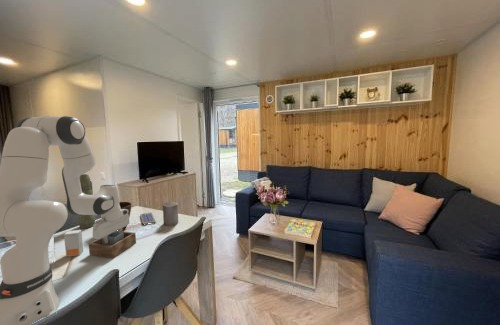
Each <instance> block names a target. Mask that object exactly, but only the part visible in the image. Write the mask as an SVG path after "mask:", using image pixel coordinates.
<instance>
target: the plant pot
mask: <svg viewBox="0 0 500 325" xmlns="http://www.w3.org/2000/svg"><path fill="white" fill-rule="evenodd" d="M119 205H120V208H121V209H127V210H128V213H127V214H128V215H129V218H130V217H131V212H132V202H130V201H120V202H119ZM127 227H128V225H127V226H125V227H123V228H122V229H124V228H126V229H127ZM124 230H125V229H124Z"/></svg>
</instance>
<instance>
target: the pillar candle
mask: <svg viewBox="0 0 500 325" xmlns="http://www.w3.org/2000/svg"><path fill="white" fill-rule="evenodd" d="M178 206H179V204H178V202H176V201H170V202H169V201H168V202H164V203H163V204H162V213H163V225H164V226H167V227H168V226H169V227H170V226H175V225H177V224H178V223H179V210H178V209H179V208H178Z"/></svg>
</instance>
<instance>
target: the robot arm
mask: <svg viewBox="0 0 500 325" xmlns="http://www.w3.org/2000/svg"><path fill="white" fill-rule="evenodd" d="M50 146H58V148H59V152H60V153H59V154H60V156H61V158H62V162H63V167H62V170H61V178H62V183H63V185H64V186H63V187H64V190H65V195H66V205H65V204H64V203H63V202H60V201H54V200H46V199H44V200H28V199H29V197H30V195H31V194H32V193H33V192H34V190H36V189H38V188H41V187H42V186H44V184H45V183H46V182H47V179H48V167H49V156H50V155H49V147H50ZM2 149H3V150H2V153H1V159H0V160H1V162H0V237H15V239H16V240H15V245H14V246H12V247H11V248H9V249H7V250H6V251H5V252H4V254H3V255H1V257H0V271H1V277H2V280H1V282H0V325H30V324H32V323H34V322H36V321H38V320H40V319H42V318H45V317H47V316H49V315H50V314H52V313H54V312H56V313H57V310H58V307H59V306H60V303H61V299H60V297H59V296H58V295H57V294H58V293H57V292H56V290H55V287H54V283H53V269H52V265H50V257H49V245H50V241H51V240H52V237H53V236H54V235H55V234H56V233H57V231H59V230H60V229H61V228H63V226H64V225H65V224H66V223H67V219H68V215H69V214H68V212H69V213H70V214H71V215H73V216H79V215H95V216H100V219H98V220H95V223H94V224H93V227H92V239H94V240H97V239H101V238H103V239H104V241H105V244H107V243H109V242H110V239H107V237H108V235H109V234H111V233H113V232H115V231H117V230H118V232H120V233H121V232H122V231H123V230H122V228H123V227H125V226H127V227H128V225H129V224H130V217H129V215H128V214H127V213H128V210H127V209H121V208H120V205H119V202H121V198H120V197H121V196H120V190H119V188H118V186H117V185H115V184H103V185H100V186H99V189H98V191H97V192H96V193H93V195H86V194H84V193H83V192H82V189H81V184H80V179H79V178H80V175H82V174H87V173H88V172H90V171H91V170H92V169H93V168H94V167H95V164H96V157H95V153H94V150H93V148H92V146H91V142H90V141H89V139H88V137H87V135H86V128H85V125H84V124H83V123H82V121H80V119H78V118H76V117H73V116H68V115H66V116H65V115H64V116H58V115H57V116H54V115H53V116H51V115H43V116H42V115H41V116H35V117H33V116H29V117H26V118H22V119H20V120H18V121H17V122H16V123H15V125H14V128H12V129H11V130H10V131H9V132H8V134H7V136H6V138H5V142H4V144H3V147H2Z"/></svg>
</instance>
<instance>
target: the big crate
mask: <svg viewBox="0 0 500 325" xmlns="http://www.w3.org/2000/svg"><path fill="white" fill-rule="evenodd" d="M115 232H118V231H115ZM121 233H124V239H122V240H120V241H119V242H117V243H115V244H113V245H112V246H111V245H103V244H102V238H101V239H94V240H93V241H91V242H89V243H88V250H89V256H95V257H102V258H108V259H109V258H110V259H114V258H115V257H117V256H119V255H120V254H121V253H123V252H124V251H126V250H128V249H129V248H132V246H134V245H135V244H136V243H137V240H136V238H137V237H136V232H131V231H124V230H122V232H121Z"/></svg>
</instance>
